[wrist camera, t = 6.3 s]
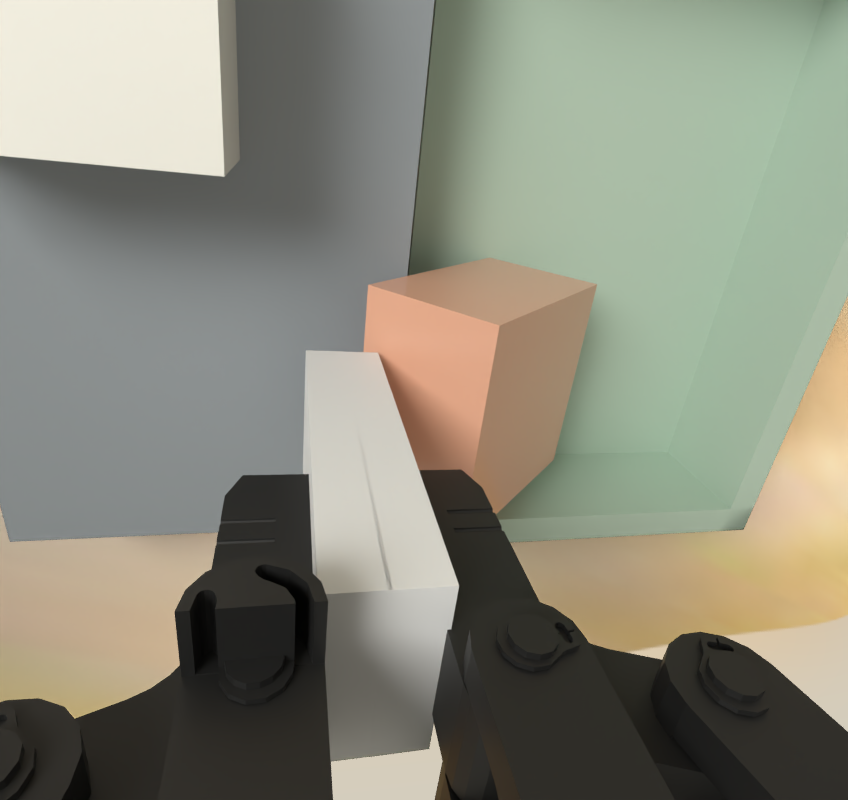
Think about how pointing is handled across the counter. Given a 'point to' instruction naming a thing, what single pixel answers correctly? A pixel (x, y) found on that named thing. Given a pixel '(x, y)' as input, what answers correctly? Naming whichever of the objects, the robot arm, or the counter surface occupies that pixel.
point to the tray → (650, 230)
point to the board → (205, 280)
